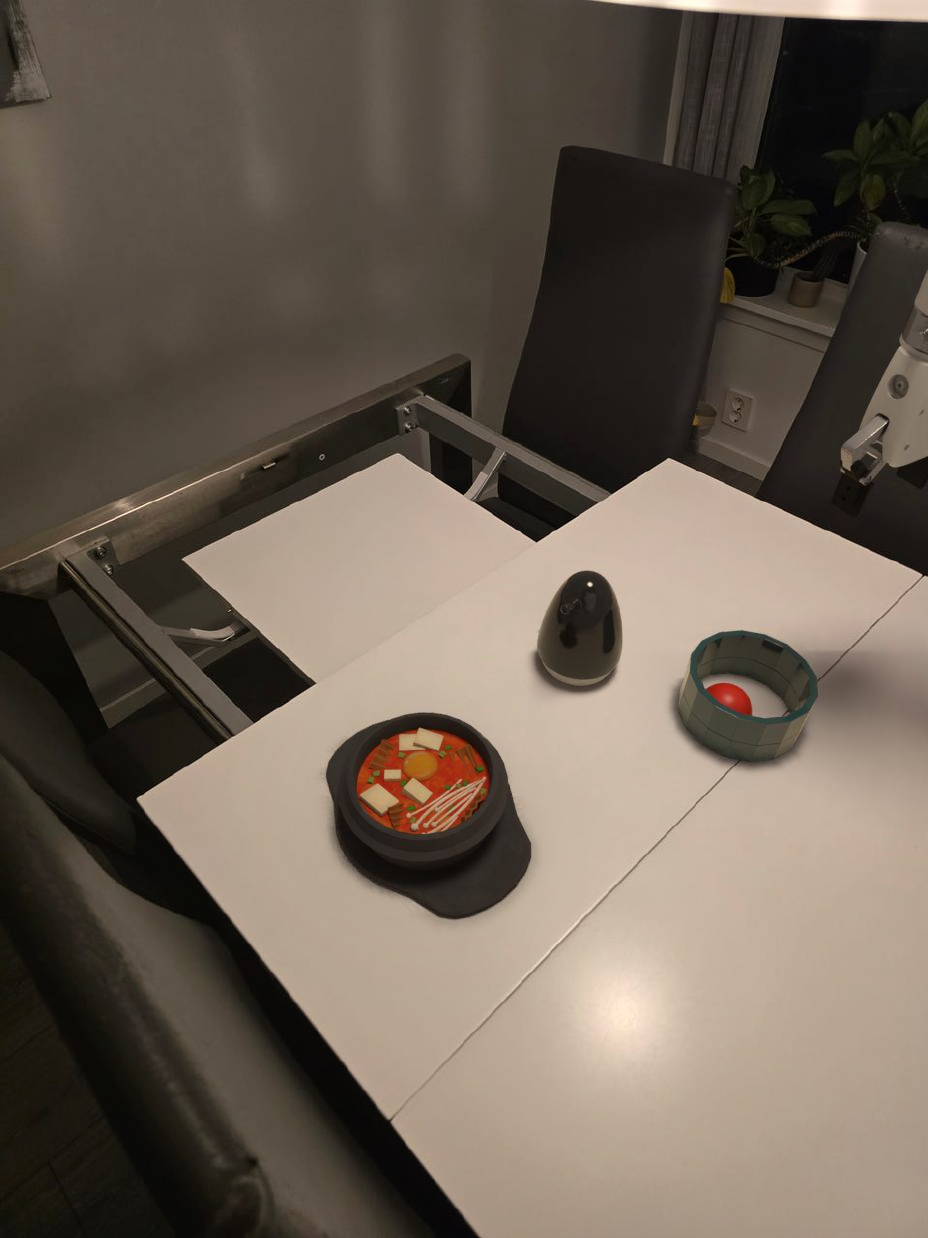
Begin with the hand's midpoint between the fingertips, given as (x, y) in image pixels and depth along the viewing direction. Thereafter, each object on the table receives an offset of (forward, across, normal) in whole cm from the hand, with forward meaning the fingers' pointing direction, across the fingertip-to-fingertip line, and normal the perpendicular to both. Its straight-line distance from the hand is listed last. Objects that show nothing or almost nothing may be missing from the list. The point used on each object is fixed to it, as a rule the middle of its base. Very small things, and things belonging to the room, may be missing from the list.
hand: (878, 495), depth 79 cm
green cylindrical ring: (+26, -13, -2) cm, 29 cm away
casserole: (+26, -50, +5) cm, 57 cm away
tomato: (+23, -15, -2) cm, 28 cm away
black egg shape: (+26, -24, +14) cm, 39 cm away
